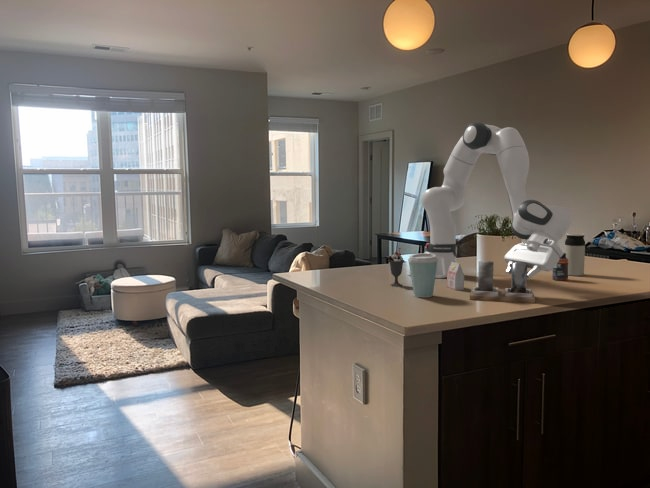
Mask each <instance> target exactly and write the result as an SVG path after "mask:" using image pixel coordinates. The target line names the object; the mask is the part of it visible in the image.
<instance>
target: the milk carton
mask: <svg viewBox="0 0 650 488" xmlns="http://www.w3.org/2000/svg"><path fill="white" fill-rule="evenodd" d="M446 288H448V289H451V290H454V291H462V290H463V291H464V289H465V273H464V271H463V269H462V266H461V263H459V262H457V263H455V262H451V263H450V266H449V269H448V271H447V277H446Z"/></svg>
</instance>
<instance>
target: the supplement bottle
mask: <svg viewBox="0 0 650 488" xmlns="http://www.w3.org/2000/svg"><path fill="white" fill-rule="evenodd" d="M563 253H564V254H563V256H562V257H559V258H560V259H559V261H558V263H557V264H556V266H555V267H554V268H553V269H552V280H554V281H559V282H562V281H563V282H564V281H565V282H566V281H567V280H569V275H568V259H567V258H566V253H565V252H563Z"/></svg>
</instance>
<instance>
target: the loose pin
mask: <svg viewBox="0 0 650 488" xmlns="http://www.w3.org/2000/svg"><path fill="white" fill-rule="evenodd" d="M527 272H528V268H527V263H522V262H512V274H510V276H511V278H510V279H511V281H510V282H511V283H510V288H511V293H526V289H527V284H528V283H527V279H528V278H527V277H526V276H525V274H526V273H527Z"/></svg>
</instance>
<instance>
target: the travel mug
mask: <svg viewBox="0 0 650 488" xmlns="http://www.w3.org/2000/svg"><path fill="white" fill-rule="evenodd" d="M565 235H566V239H565V240H564V253H566V258H567V259H568V277H570V276H571V277H572V276H573V277H581V276H584V275H585V261H586V260H585V258H586V255H585V254H586V253H585V252H586V240H585V235H586V234H585V233H579V232H578V233H577V232H571V233H570V232H568V233H567V232H566V233H565Z"/></svg>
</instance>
